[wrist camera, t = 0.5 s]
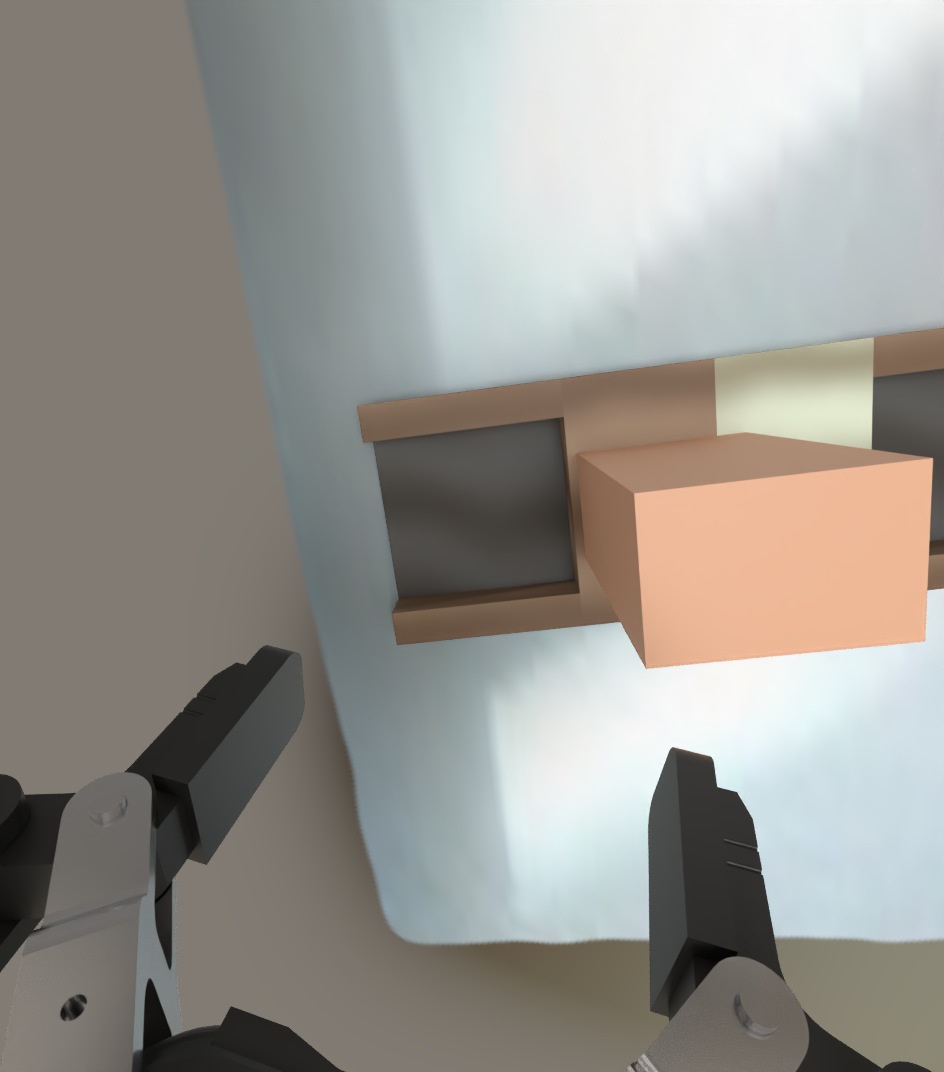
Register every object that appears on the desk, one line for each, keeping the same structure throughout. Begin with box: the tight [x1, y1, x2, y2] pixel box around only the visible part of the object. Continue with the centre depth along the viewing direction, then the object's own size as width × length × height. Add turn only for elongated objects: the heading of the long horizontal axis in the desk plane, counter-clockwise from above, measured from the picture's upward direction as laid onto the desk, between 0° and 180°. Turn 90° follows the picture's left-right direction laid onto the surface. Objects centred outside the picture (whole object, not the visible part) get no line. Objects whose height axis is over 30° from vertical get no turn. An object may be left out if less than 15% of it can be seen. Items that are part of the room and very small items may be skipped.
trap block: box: [576, 432, 933, 669], centre depth 26 cm, size 6×9×14 cm, turn 97°
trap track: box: [357, 328, 944, 645], centre depth 34 cm, size 14×38×3 cm, turn 97°
